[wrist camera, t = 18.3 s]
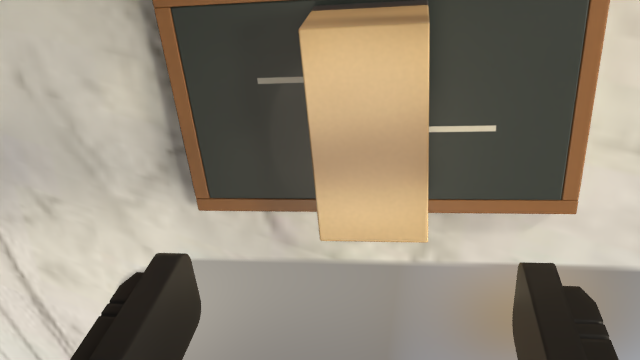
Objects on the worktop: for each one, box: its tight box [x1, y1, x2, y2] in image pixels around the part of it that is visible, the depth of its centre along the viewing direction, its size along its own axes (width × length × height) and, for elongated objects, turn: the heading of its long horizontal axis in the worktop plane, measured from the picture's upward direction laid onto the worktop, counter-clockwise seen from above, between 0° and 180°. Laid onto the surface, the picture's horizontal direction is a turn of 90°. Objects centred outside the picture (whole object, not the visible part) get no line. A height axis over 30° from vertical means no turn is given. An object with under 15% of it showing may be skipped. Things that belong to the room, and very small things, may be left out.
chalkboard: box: [152, 0, 610, 214], centre depth 28 cm, size 12×20×1 cm, turn 95°
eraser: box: [298, 0, 430, 242], centre depth 26 cm, size 10×5×4 cm, turn 5°
